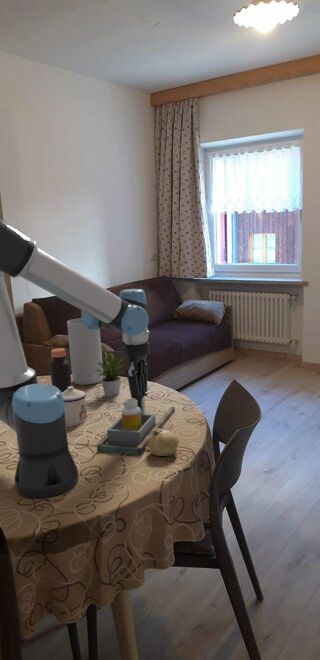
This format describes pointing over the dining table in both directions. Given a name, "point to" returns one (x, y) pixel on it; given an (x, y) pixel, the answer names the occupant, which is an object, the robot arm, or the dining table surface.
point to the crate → (130, 437)
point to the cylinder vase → (84, 353)
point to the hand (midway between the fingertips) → (140, 417)
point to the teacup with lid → (74, 406)
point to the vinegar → (60, 370)
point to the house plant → (110, 376)
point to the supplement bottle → (131, 415)
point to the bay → (142, 446)
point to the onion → (162, 442)
